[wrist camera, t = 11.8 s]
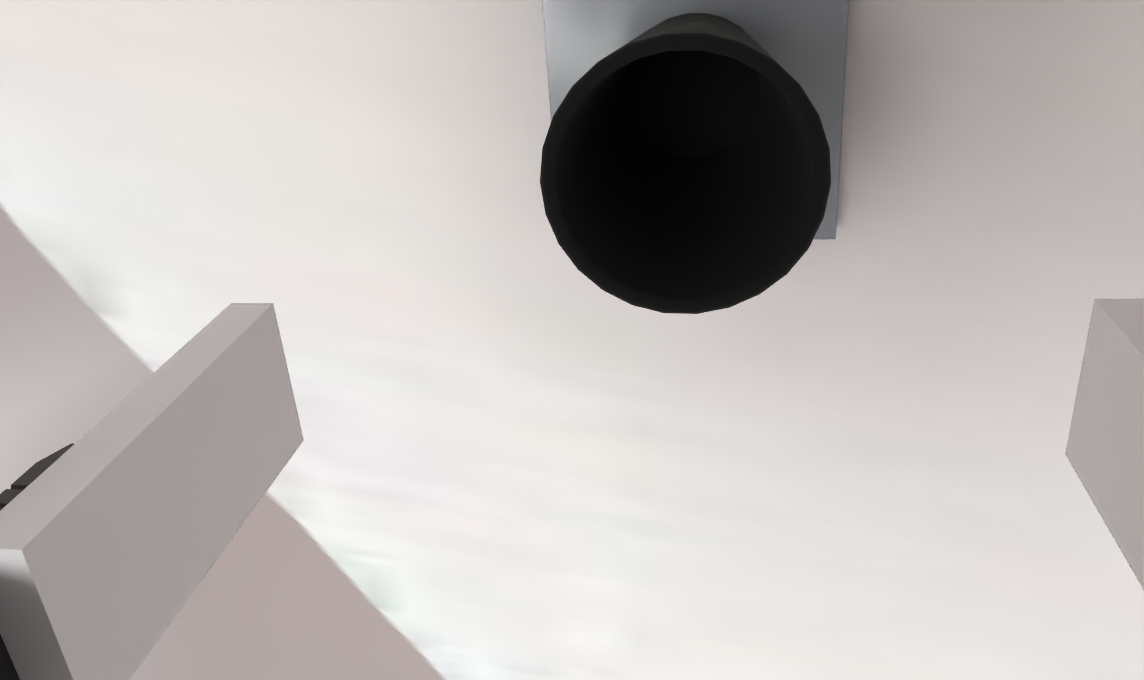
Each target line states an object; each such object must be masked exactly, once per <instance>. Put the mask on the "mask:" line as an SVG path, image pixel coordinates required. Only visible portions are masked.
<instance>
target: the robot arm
mask: <svg viewBox="0 0 1144 680" xmlns="http://www.w3.org/2000/svg"><path fill="white" fill-rule="evenodd" d="M302 442H303V435H302V431H301V426H300V422H299V417H298V413H297V408H296V404H295V399H294V395H293V390H292V386H291V382H290V377H289V373H288V368H287V364H286V359H285V355H284V350H283V346H282V341H281V337H280V332H279V328H278V323H277V319H276V314H275V310H274V306H273V303H231V304H230V305H229V306H228V307H227V308H226V309H225V310H223V311H222V312H221V313H220V314H219V315H218V316H217V317H216V318H215V319H213V320H212V321H211V322H210V323H209V324H208V325H207V326H206V327H205V328H203V329H202V330H201V331H200V332H199V333H198V334H197V335H196V336H194V337H193V338H192V339H191V340H190V341H189V342H188V343H187V344H186V345H184V346H183V347H182V348H181V349H180V350H179V351H178V352H177V353H176V354H174V355H173V356H172V357H171V358H170V359H169V360H168V361H167V362H166V363H164V364H163V365H162V366H161V367H160V368H159V369H158V370H157V371H155V372H154V373H153V374H152V375H151V376H150V377H149V378H148V379H147V380H145V381H144V382H143V383H142V384H141V385H140V386H139V387H138V388H137V389H135V390H134V391H133V392H132V393H131V394H130V395H129V396H128V397H127V398H125V399H124V400H123V401H122V402H121V403H120V404H119V405H118V406H116V407H115V408H114V409H113V410H112V411H111V412H110V413H109V414H108V415H106V416H105V417H104V418H103V419H102V420H101V421H100V422H99V423H98V424H97V425H95V426H94V427H93V428H92V429H91V430H90V431H89V432H88V433H86V434H85V435H84V436H83V437H82V438H81V439H80V440H79V441H77V442H76V443H75V444H70V445H68V446H66V447H64V448H62V449H61V450H59V451H57V452H55V453H53V454H51V455H50V456H48V457H46V458H45V459H42V460H40V461H39V462H37V463H36V464H34V465H33V466H32V467H31V468H30V469H29V470H28V471H26V472H25V473H24V474H23V475H22V476H21V477H20V478H18V479H17V480H16V481H15V482H14V483H13V484H12V485H11V489H6V490H5V491H3V492H2V493H1V494H0V680H130V679H131V677H132V676H133V674H134V673H135V672H136V670H137V669H138V668H139V666H140V665H141V663H142V662H143V660H144V659H145V658H146V657H147V655H148V654H149V652H150V651H151V650H152V648H153V647H154V645H155V644H156V643H157V641H158V640H159V639H160V637H161V636H162V635H163V633H164V632H165V630H166V629H167V628H168V626H169V625H170V623H171V622H172V621H173V619H174V618H175V617H176V615H177V614H178V612H179V611H180V610H181V608H182V607H183V606H184V604H185V603H186V601H187V600H188V599H189V597H190V596H191V595H192V593H193V592H194V590H195V589H196V588H197V586H198V585H199V583H200V582H201V581H202V579H203V578H204V577H205V575H206V574H207V573H208V571H209V570H210V568H211V567H212V566H213V564H214V563H215V561H216V560H217V559H218V557H219V556H220V555H221V553H222V552H223V550H224V549H225V548H226V546H227V545H228V543H229V542H230V541H231V539H232V538H233V537H234V535H235V534H236V533H237V531H238V530H239V528H240V527H241V526H242V524H243V523H244V522H245V520H246V519H247V517H248V516H249V515H250V513H251V512H252V510H253V509H254V508H255V506H256V505H257V503H258V502H259V501H260V499H261V498H262V497H263V495H264V494H265V493H266V491H267V490H268V488H269V487H270V486H271V484H272V483H273V482H274V480H275V479H276V477H277V476H278V475H279V473H280V472H281V471H282V469H283V468H284V466H285V465H286V464H287V462H288V461H289V460H290V458H291V457H292V455H293V454H294V453H295V451H296V450H297V449H298V447H299V446H300V444H301V443H302ZM1066 456H1067V458H1068V460H1069V461H1070V463H1071V465H1072V466H1073V468H1074V470H1075V472H1076V473H1077V475H1078V477H1079V479H1080V480H1081V482H1082V484H1083V486H1084V487H1085V489H1086V491H1087V492H1088V494H1089V496H1090V498H1091V499H1092V501H1093V503H1094V505H1095V506H1096V508H1097V510H1098V511H1099V513H1100V515H1101V517H1102V518H1103V520H1104V522H1105V524H1106V525H1107V527H1108V529H1109V531H1110V532H1111V534H1112V536H1113V537H1114V539H1115V541H1116V543H1117V544H1118V546H1119V548H1120V550H1121V551H1122V553H1123V555H1124V556H1125V558H1126V560H1127V562H1128V563H1129V565H1130V567H1131V569H1132V570H1133V572H1134V574H1135V576H1136V577H1137V579H1138V581H1139V582H1140V584H1141V586H1142V588H1143V589H1144V299H1094V304H1093V309H1092V315H1091V320H1090V325H1089V331H1088V336H1087V341H1086V347H1085V352H1084V357H1083V363H1082V368H1081V373H1080V379H1079V384H1078V389H1077V395H1076V400H1075V406H1074V411H1073V416H1072V422H1071V427H1070V432H1069V438H1068V443H1067V448H1066Z"/></svg>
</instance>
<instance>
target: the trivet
mask: <svg viewBox="0 0 1144 680" xmlns="http://www.w3.org/2000/svg"><path fill="white" fill-rule="evenodd" d="M848 4H849V0H542V8H543V21H544V34H545V47H546V60H547V73H548V86H549V99H550V112H551V121H552V118H553V115H554V114H555V112H556V111H557V109H558V108H559V106H560V104H561V103H562V101H563V100H564V98H565V97H566V95H567V93H568V92H569V90H570V89H571V87H572V86H573V85H574V84H575V83H576V82H577V81H578V80H579V79H580V78H581V77H582V76H583V75H584V74H585V73H587V72H588V71H589V70H590V69H591V68H592V67H593V66H594V65H595V64H596V63H597V62H598V61H600V60H601V59H603V58H604V57H606V56H608V55H609V54H611V53H612V52H614V51H616V50H617V49H619V48H620V47H622V46H623V45H625V44H627V43H628V42H630V41H631V40H633V39H635V38H636V37H638V36H639V35H641V34H642V33H644V32H646V31H647V30H649V29H650V28H652V27H654V26H656V25H657V24H659V23H661V22H663V21H664V20H666V19H668V18H671V17H675V16H679V15H682V14H686V13H707V14H711V15H715V16H719V17H723V18H725V19H727V20H729V21H731V22H732V23H734V24H736V25H738V26H740V27H741V28H742V29H743V30H744V31H745V32H746V33H747V34H748V35H749V36H750V37H751V38H752V39H753V40H755V41H756V42H757V43H758V44H759V45H760V46H761V47H762V48H763V49H764V50H765V51H766V52H767V53H768V54H769V55H770V56H771V57H772V58H773V59H774V60H775V61H776V62H777V63H778V64H779V65H780V66H781V67H782V68H783V69H784V70H786V71H787V72H788V73H789V74H790V75H791V76H792V77H793V78H794V79H795V80H796V81H797V82H798V83H799V84H800V85H801V87H802V88H803V90H804V92H805V93H806V95H807V96H808V98H809V100H810V101H811V103H812V104H813V106H814V107H815V109H816V111H817V112H818V114H819V116H820V119H821V122H822V125H823V129H824V132H825V135H826V138H827V142H828V145H829V148H830V167H831V187H830V192H829V196H828V201H827V206H826V210H825V215H824V218H823V220H822V222H821V224H820V226H819V228H818V230H817V232H816V234H815V236H814V238H813V239H835V238H836V220H837V202H838V184H839V166H840V148H841V130H842V112H843V94H844V76H845V58H846V40H847V22H848Z"/></svg>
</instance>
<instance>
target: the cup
mask: <svg viewBox="0 0 1144 680" xmlns="http://www.w3.org/2000/svg"><path fill="white" fill-rule="evenodd" d="M540 184H541V190H542V195H543V201H544V207H545V213H546V216H547V218H548V220H549V223H550V225H551V227H552V230H553V232H554V234H555V236H556V239H557V241H558V243H559V245H560V246H561V247H562V249H563V250H564V251H565V253H566V254H567V255H568V257H569V258H570V259H571V261H572V262H573V263H574V265H575V266H576V267H577V269H578V270H579V271H581V272H582V273H583V274H584V275H585V276H587V277H588V278H589V279H590V280H591V281H593V282H594V283H595V284H596V285H597V286H599V287H600V288H601V289H602V290H604V291H606V292H608V293H610V294H612V295H614V296H615V297H617V298H619V299H621V300H623V301H625V302H627V303H629V304H631V305H634V306H638V307H642V308H646V309H650V310H654V311H658V312H662V313H687V314H698V313H703V312H708V311H714V310H719V309H724V308H729V307H731V306H734V305H736V304H738V303H741V302H743V301H745V300H747V299H750V298H752V297H754V296H757V295H759V294H761V293H762V292H763V291H765V290H766V289H767V288H769V287H770V286H771V285H773V284H774V283H775V282H777V281H778V280H779V279H781V278H782V277H784V276H785V275H786V274H787V273H788V272H789V271H790V270H791V269H792V267H793V266H794V265H795V264H796V263H797V261H798V260H799V259H800V258H801V257H802V255H803V254H804V253H805V252H806V251H807V250H808V248H809V247H810V245H811V242H812V240H813V238H814V236H815V234H816V232H817V230H818V228H819V226H820V224H821V222H822V220H823V218H824V215H825V210H826V206H827V201H828V196H829V192H830V187H831V167H830V148H829V145H828V142H827V138H826V135H825V132H824V129H823V125H822V122H821V119H820V116H819V114H818V112H817V111H816V109H815V107H814V106H813V104H812V103H811V101H810V100H809V98H808V96H807V95H806V93H805V92H804V90H803V88H802V87H801V85H800V84H799V83H798V82H797V81H796V80H795V79H794V78H793V77H792V76H791V75H790V74H789V73H788V72H787V71H786V70H784V69H783V68H782V67H781V66H780V65H779V64H778V63H777V62H776V61H775V60H774V59H773V58H772V57H771V56H770V55H769V54H768V53H767V52H766V51H765V50H764V49H763V48H762V47H761V46H760V45H759V44H758V43H757V42H756V41H755V40H753V39H752V38H751V37H750V36H749V35H748V34H747V33H746V32H745V31H744V30H743V29H742V28H741V27H740V26H738V25H736V24H734V23H732V22H731V21H729V20H727V19H725V18H723V17H719V16H715V15H711V14H707V13H686V14H682V15H679V16H675V17H671V18H668V19H666V20H664V21H663V22H661V23H659V24H657V25H656V26H654V27H652V28H650V29H649V30H647V31H646V32H644V33H642V34H641V35H639V36H638V37H636V38H635V39H633V40H631V41H630V42H628V43H627V44H625V45H623V46H622V47H620V48H619V49H617V50H616V51H614V52H612V53H611V54H609V55H608V56H606V57H604V58H603V59H601V60H600V61H598V62H597V63H596V64H595V65H594V66H593V67H592V68H591V69H590V70H589V71H588V72H587V73H585V74H584V75H583V76H582V77H581V78H580V79H579V80H578V81H577V82H576V83H575V84H574V85H573V86H572V87H571V89H570V90H569V92H568V93H567V95H566V97H565V98H564V100H563V101H562V103H561V104H560V106H559V108H558V109H557V111H556V112H555V114H554V115H553V118H552V121H551V124H550V127H549V130H548V133H547V136H546V139H545V142H544V145H543V149H542V162H541V176H540Z"/></svg>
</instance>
